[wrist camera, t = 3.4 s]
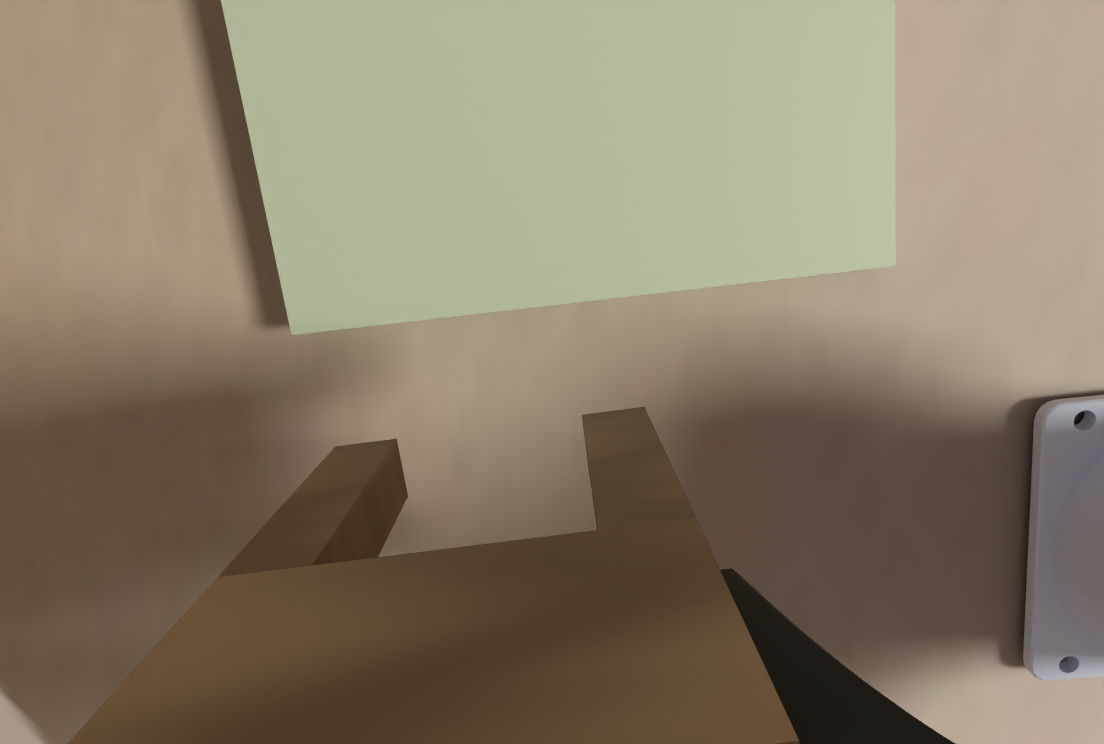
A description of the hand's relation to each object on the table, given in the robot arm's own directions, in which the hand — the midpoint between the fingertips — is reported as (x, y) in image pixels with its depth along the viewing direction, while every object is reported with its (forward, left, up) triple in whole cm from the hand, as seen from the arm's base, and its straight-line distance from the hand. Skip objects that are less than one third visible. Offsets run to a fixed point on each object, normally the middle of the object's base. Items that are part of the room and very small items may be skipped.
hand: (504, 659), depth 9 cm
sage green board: (-2, -9, -9) cm, 13 cm away
